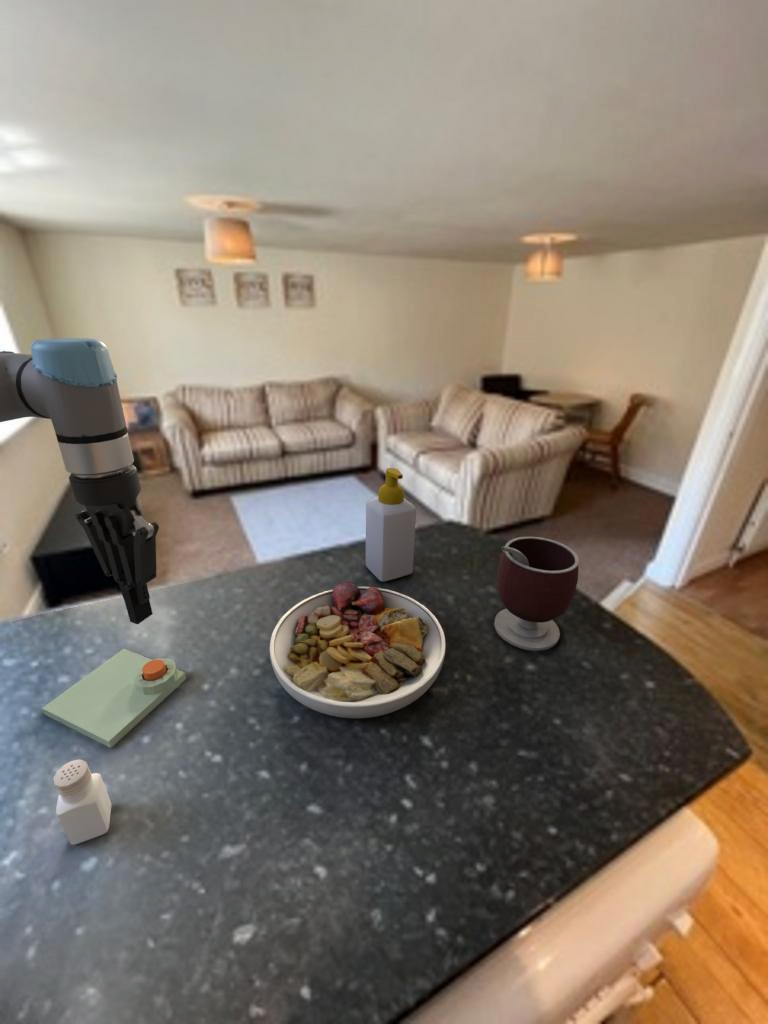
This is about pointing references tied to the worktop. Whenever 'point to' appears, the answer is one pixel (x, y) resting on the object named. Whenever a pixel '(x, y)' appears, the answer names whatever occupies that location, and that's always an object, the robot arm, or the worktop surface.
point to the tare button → (154, 670)
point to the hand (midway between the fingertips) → (141, 617)
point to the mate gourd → (534, 590)
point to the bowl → (357, 651)
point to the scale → (113, 697)
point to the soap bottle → (390, 530)
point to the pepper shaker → (81, 802)
